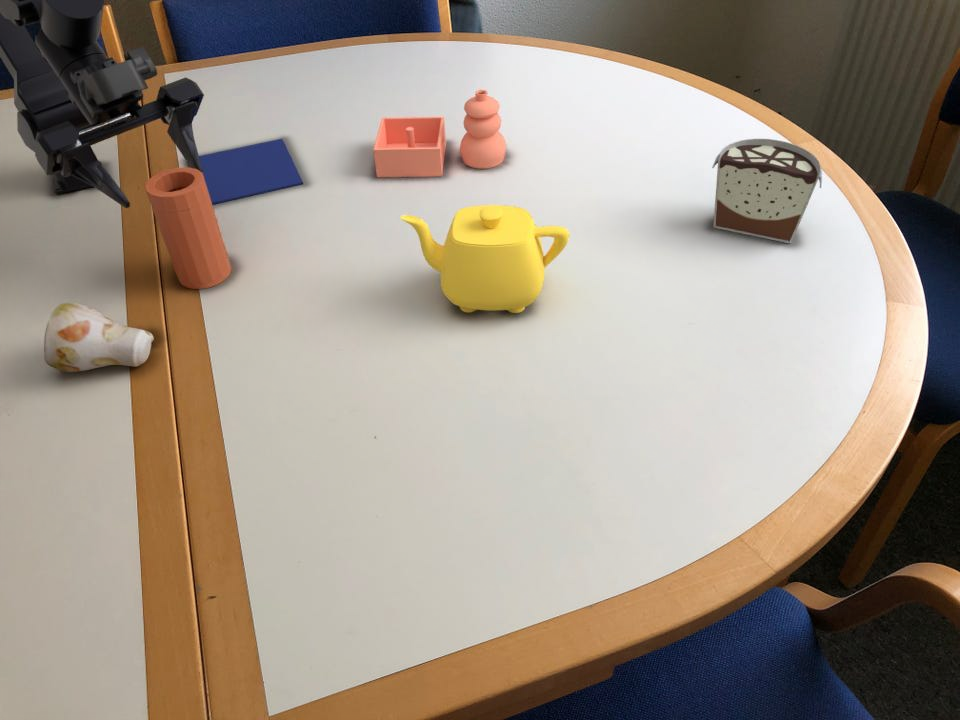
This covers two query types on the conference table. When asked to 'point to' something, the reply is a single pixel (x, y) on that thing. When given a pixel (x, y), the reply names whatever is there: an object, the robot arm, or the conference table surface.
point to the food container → (764, 187)
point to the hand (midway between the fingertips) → (165, 189)
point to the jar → (189, 227)
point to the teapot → (491, 257)
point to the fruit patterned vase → (91, 340)
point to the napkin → (248, 171)
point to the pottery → (439, 141)
